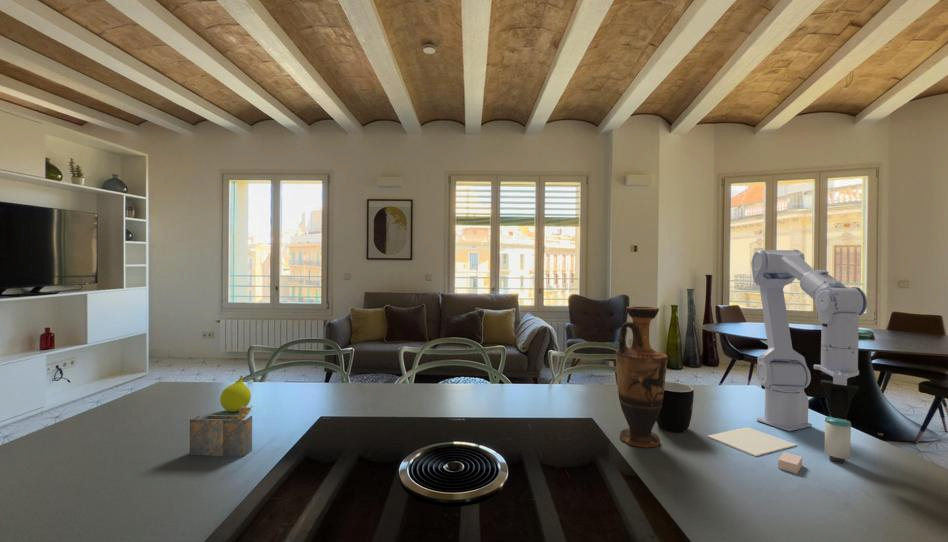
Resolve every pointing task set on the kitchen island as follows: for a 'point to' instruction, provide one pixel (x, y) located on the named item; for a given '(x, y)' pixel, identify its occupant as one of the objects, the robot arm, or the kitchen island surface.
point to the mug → (676, 407)
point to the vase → (640, 379)
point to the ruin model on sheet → (221, 434)
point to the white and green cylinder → (837, 439)
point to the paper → (751, 441)
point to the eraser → (790, 462)
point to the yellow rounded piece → (235, 396)
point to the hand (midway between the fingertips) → (838, 413)
